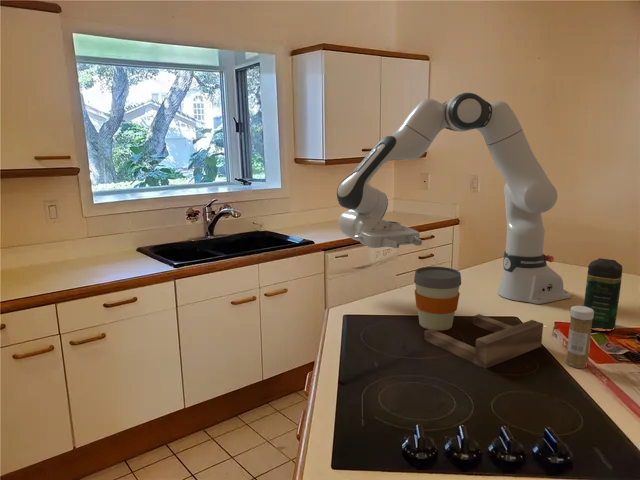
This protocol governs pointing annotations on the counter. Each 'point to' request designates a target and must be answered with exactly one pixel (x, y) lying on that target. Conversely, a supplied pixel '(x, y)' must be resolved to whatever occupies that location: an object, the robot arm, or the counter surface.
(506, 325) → the walnut bay
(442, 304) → the reusable coffee cup
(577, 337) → the spice jar
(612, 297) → the coffee jar
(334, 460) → the counter surface
